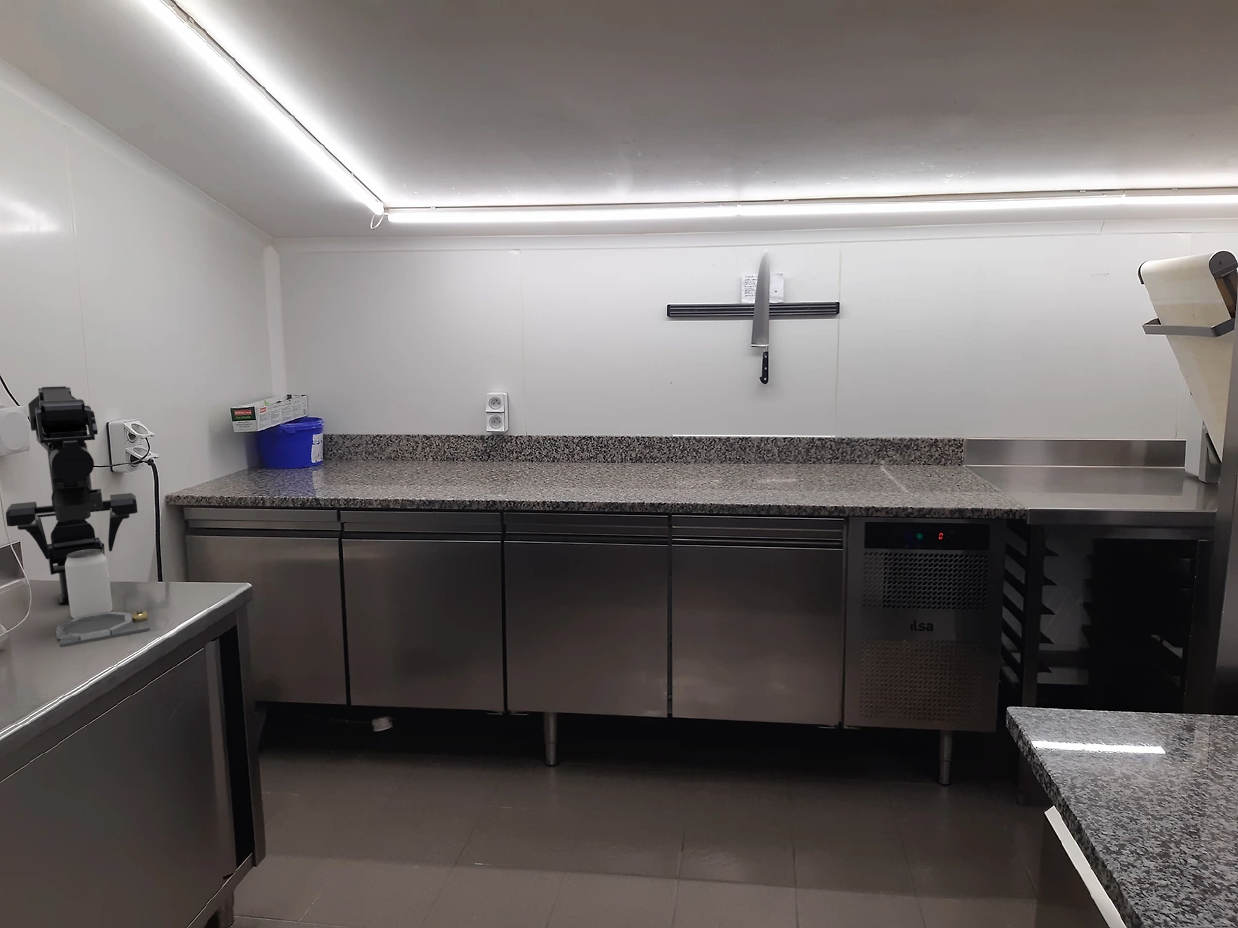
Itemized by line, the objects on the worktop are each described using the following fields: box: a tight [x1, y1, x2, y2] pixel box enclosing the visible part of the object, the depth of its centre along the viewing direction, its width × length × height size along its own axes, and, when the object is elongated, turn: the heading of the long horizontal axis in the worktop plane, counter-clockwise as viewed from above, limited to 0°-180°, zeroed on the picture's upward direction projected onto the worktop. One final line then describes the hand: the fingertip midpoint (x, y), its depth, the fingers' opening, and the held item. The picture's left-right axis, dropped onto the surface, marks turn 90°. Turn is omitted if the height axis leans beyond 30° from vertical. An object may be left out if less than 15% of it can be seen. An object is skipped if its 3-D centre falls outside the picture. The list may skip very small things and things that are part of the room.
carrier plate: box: [59, 612, 151, 648], centre depth 134 cm, size 10×13×1 cm
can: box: [65, 549, 113, 619], centre depth 140 cm, size 6×6×12 cm
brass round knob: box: [132, 608, 149, 622], centre depth 137 cm, size 2×2×2 cm
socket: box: [55, 610, 132, 641], centre depth 133 cm, size 11×11×1 cm
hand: (79, 554), depth 135 cm, fingers open, 9 cm apart
